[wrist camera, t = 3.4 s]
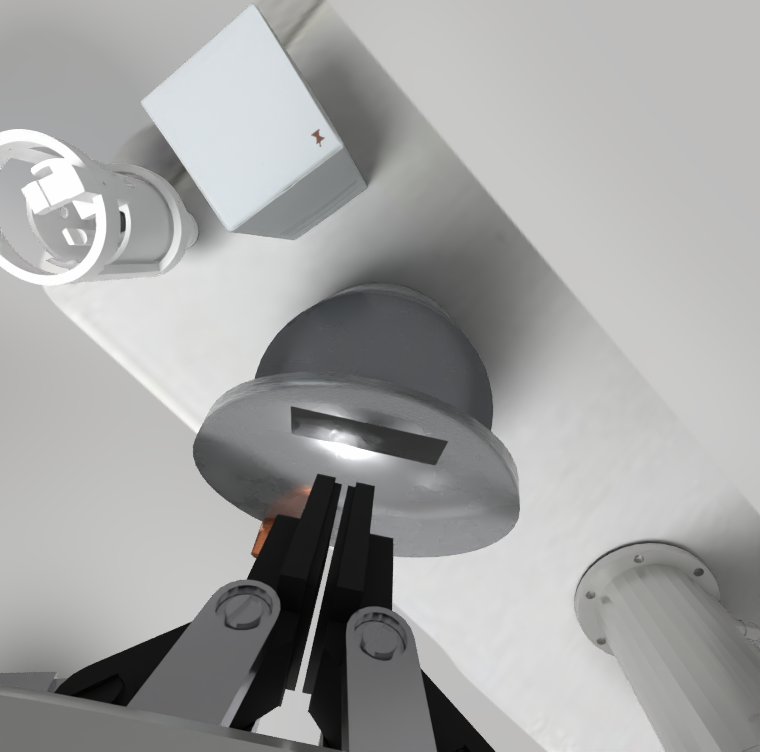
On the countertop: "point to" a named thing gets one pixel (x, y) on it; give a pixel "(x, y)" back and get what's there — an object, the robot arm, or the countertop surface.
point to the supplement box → (254, 133)
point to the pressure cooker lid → (361, 459)
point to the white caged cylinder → (94, 215)
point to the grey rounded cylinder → (385, 346)
